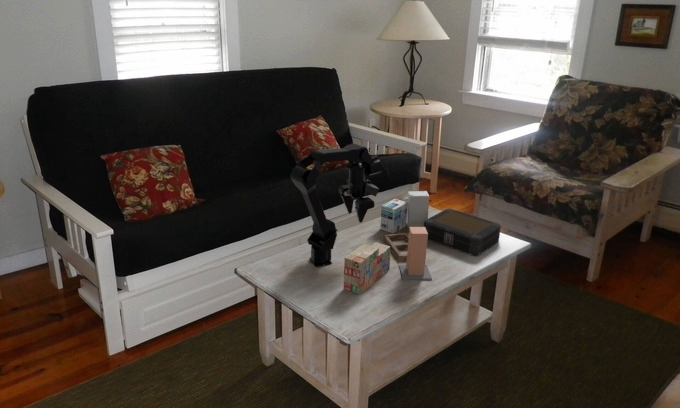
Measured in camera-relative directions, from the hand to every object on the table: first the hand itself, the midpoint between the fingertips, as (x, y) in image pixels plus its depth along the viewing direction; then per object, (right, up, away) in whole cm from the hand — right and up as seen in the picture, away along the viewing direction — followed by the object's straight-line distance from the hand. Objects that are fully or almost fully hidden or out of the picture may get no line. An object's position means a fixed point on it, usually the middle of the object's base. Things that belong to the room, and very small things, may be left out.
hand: (355, 217), depth 212 cm
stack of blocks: (+4, -21, -16) cm, 27 cm away
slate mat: (+21, -19, -11) cm, 31 cm away
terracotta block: (+21, -19, -12) cm, 30 cm away
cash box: (+43, -10, +15) cm, 46 cm away
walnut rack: (+19, -12, +6) cm, 23 cm away
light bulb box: (+17, -5, +24) cm, 30 cm away
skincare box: (+26, -4, +27) cm, 38 cm away
